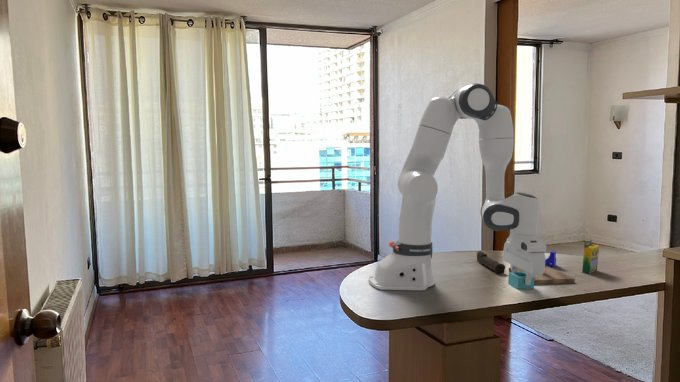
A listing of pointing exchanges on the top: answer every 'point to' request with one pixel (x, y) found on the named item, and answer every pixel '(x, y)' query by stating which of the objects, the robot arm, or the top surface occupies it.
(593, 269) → the crayon box
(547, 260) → the blue curved cradle
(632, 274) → the top surface
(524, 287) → the collar
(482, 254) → the dark brown rod
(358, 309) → the top surface
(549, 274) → the post stand
